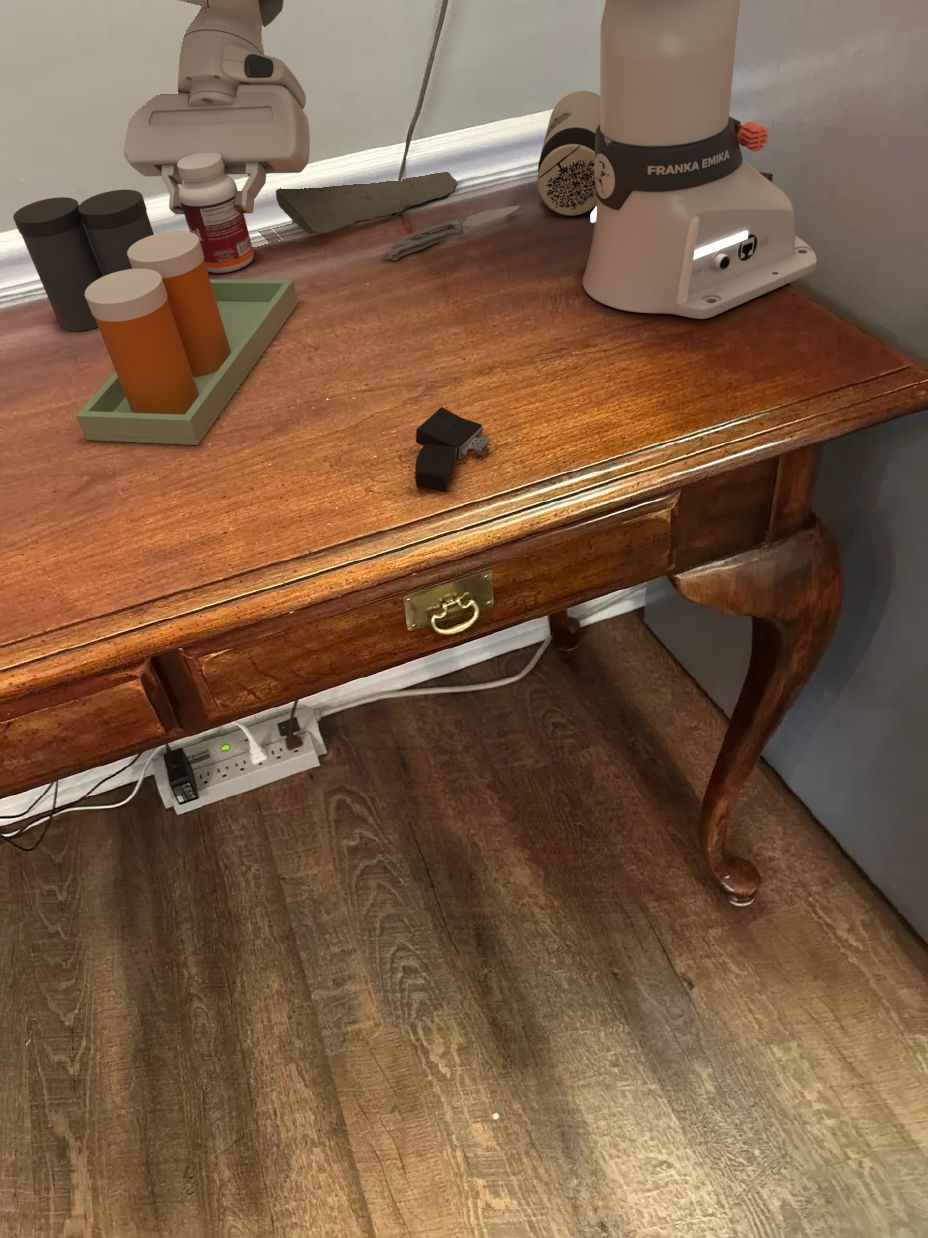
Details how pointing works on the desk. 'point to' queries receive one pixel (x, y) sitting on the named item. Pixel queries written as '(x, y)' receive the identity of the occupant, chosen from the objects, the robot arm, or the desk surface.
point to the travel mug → (570, 155)
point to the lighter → (445, 447)
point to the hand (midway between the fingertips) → (211, 211)
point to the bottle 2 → (143, 341)
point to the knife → (442, 232)
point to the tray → (249, 329)
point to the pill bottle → (214, 212)
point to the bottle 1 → (186, 295)
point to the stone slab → (359, 201)
